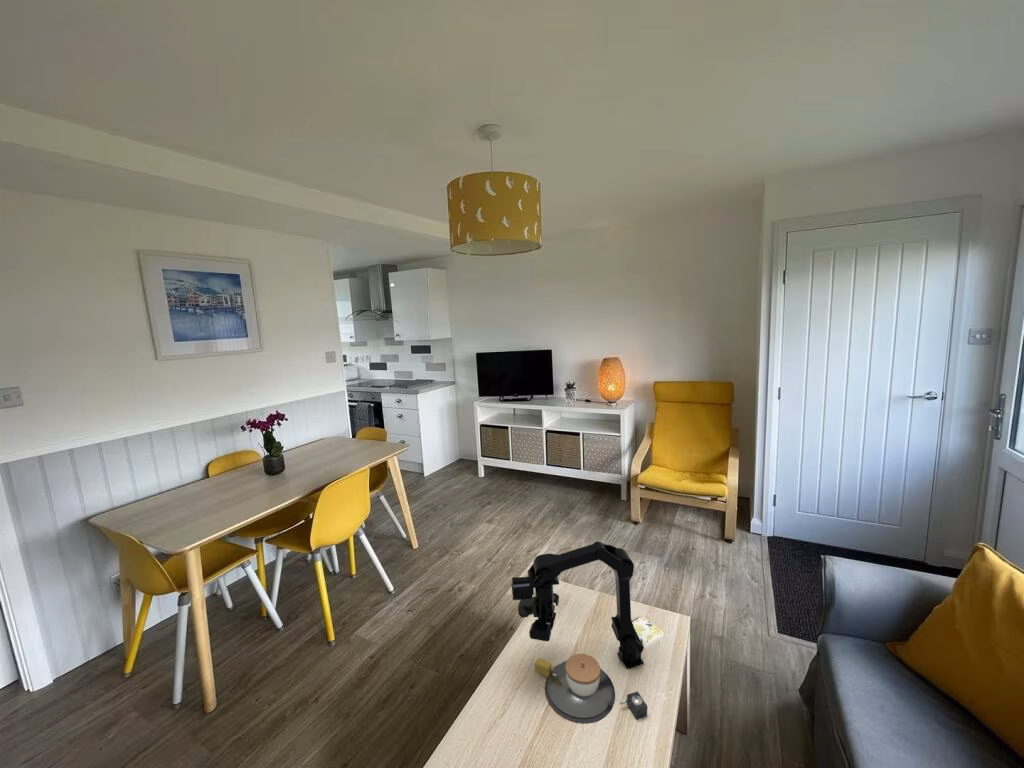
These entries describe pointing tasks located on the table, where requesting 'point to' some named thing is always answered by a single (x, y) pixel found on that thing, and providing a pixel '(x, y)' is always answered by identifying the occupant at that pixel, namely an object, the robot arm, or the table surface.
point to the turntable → (568, 699)
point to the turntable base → (576, 718)
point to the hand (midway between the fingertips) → (545, 637)
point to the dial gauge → (636, 705)
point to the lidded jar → (582, 674)
